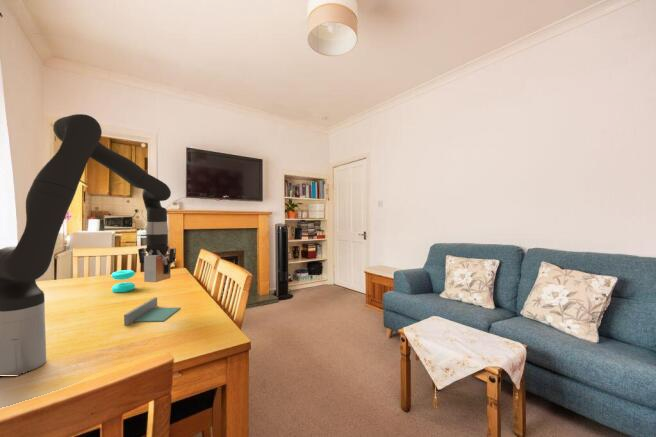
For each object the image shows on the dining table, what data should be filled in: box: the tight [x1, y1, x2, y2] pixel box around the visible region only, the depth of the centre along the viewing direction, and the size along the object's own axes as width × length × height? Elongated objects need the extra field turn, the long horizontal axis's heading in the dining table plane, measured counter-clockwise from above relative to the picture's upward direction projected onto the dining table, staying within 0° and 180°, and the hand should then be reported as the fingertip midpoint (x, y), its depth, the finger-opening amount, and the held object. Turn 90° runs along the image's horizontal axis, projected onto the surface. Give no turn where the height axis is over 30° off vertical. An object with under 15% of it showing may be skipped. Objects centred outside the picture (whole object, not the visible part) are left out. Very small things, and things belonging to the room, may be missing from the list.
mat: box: [133, 307, 181, 323], centre depth 114 cm, size 14×11×1 cm
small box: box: [143, 252, 172, 283], centre depth 113 cm, size 8×6×10 cm
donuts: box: [111, 269, 136, 294], centre depth 147 cm, size 10×10×10 cm
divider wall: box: [123, 297, 158, 326], centre depth 114 cm, size 20×1×4 cm, turn 3°
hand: (157, 273), depth 113 cm, fingers closed on small box, 6 cm apart
